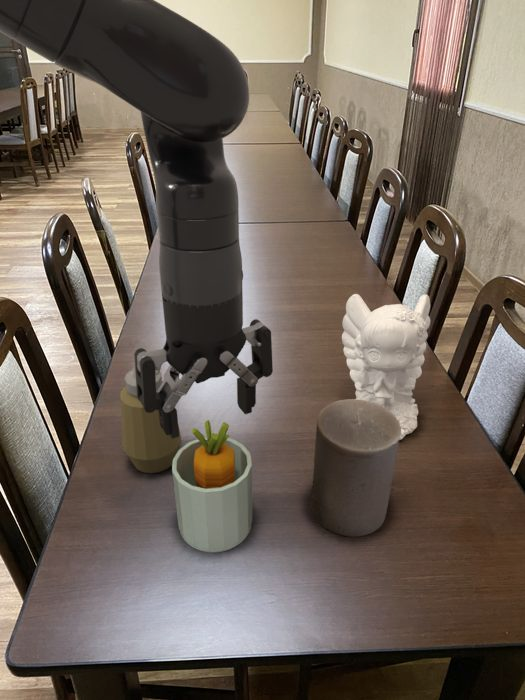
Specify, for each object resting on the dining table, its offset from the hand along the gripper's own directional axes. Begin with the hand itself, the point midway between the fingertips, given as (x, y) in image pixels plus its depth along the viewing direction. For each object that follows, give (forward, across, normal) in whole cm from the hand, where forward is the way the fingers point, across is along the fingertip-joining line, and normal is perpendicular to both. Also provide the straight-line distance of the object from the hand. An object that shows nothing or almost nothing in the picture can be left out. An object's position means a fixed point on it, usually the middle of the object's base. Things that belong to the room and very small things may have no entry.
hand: (209, 421), depth 58 cm
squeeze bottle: (+16, +3, -14) cm, 22 cm away
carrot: (+16, 0, 0) cm, 16 cm away
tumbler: (+16, 0, 0) cm, 16 cm away
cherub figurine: (+16, -31, -7) cm, 36 cm away
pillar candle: (+16, -16, +6) cm, 24 cm away
